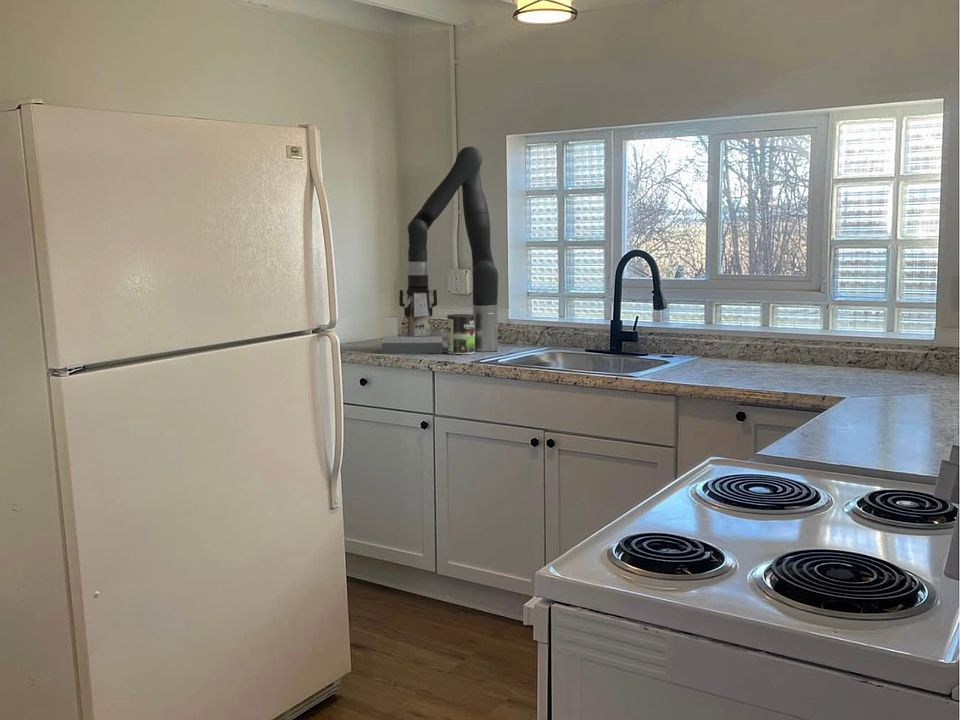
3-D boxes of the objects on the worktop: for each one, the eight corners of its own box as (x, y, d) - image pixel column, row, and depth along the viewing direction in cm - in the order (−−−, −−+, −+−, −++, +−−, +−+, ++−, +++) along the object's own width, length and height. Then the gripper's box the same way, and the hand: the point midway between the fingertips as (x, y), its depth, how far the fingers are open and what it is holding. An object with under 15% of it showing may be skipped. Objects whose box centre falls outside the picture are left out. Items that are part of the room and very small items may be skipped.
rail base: (442, 349, 346) (442, 338, 345) (442, 353, 332) (442, 342, 331) (384, 349, 345) (384, 338, 344) (382, 354, 331) (381, 343, 331)
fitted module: (398, 337, 342) (398, 316, 341) (397, 340, 333) (397, 318, 332) (385, 337, 342) (385, 316, 341) (383, 340, 333) (383, 318, 332)
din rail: (442, 338, 345) (442, 333, 344) (442, 342, 332) (442, 336, 331) (384, 339, 344) (384, 333, 344) (382, 343, 331) (381, 337, 331)
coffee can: (480, 352, 335) (480, 314, 333) (463, 355, 327) (463, 316, 325) (459, 350, 341) (458, 313, 339) (441, 353, 333) (441, 315, 331)
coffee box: (430, 336, 334) (430, 292, 334) (414, 336, 332) (413, 292, 331) (423, 335, 343) (422, 293, 342) (406, 335, 341) (406, 293, 340)
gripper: (437, 273, 339) (437, 316, 341) (399, 273, 338) (399, 316, 341) (437, 274, 331) (437, 318, 334) (398, 274, 331) (398, 318, 333)
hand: (418, 317), depth 337 cm, fingers closed on coffee box, 8 cm apart
